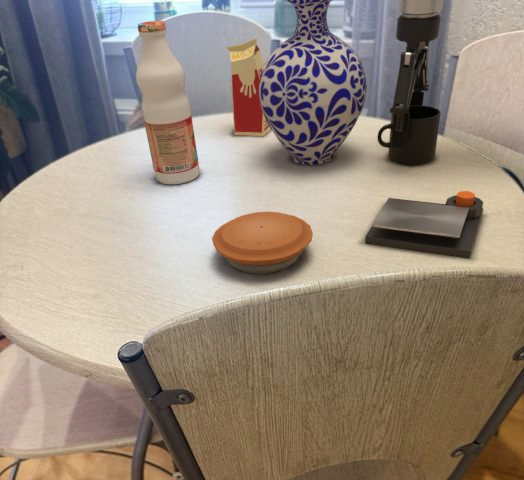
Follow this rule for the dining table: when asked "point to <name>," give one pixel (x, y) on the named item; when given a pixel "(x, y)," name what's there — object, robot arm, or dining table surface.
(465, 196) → the tare button
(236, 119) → the milk carton
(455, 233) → the scale pan
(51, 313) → the dining table surface
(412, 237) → the scale
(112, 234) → the dining table surface
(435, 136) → the mug
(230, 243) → the pie
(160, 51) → the fruit juice
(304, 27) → the vase
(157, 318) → the dining table surface
